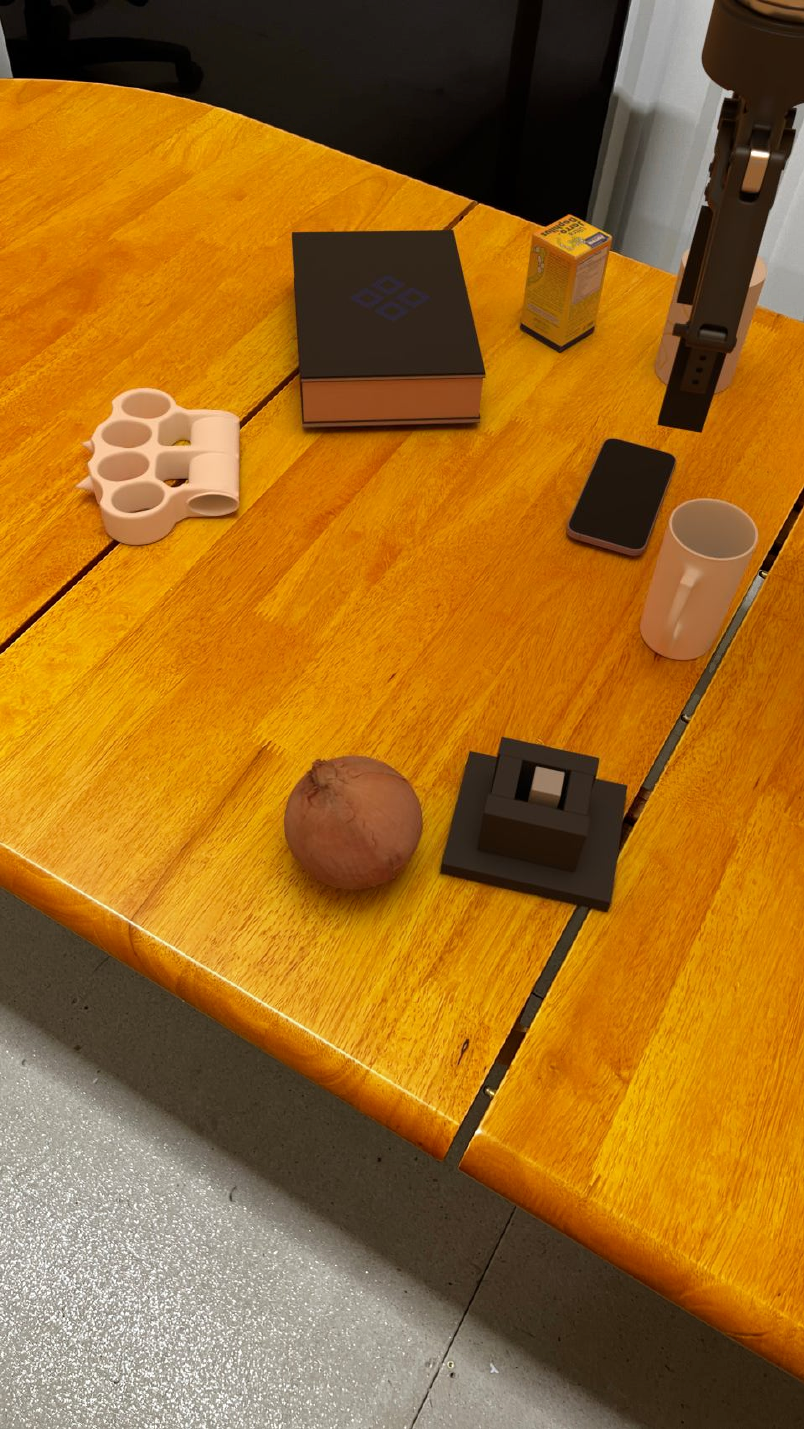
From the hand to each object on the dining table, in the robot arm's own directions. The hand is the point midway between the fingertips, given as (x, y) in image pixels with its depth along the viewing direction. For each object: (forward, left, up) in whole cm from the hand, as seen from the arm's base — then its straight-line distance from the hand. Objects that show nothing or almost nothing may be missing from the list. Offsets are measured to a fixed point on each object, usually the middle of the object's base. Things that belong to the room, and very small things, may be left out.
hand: (688, 361), depth 71 cm
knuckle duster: (+43, -8, -27) cm, 51 cm away
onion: (+15, +26, -27) cm, 40 cm away
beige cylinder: (-4, -39, -27) cm, 48 cm away
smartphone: (+1, -17, -27) cm, 32 cm away
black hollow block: (+3, +21, -25) cm, 33 cm away
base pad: (+3, +21, -27) cm, 34 cm away
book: (+28, -32, -27) cm, 50 cm away
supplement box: (+11, -42, -27) cm, 51 cm away
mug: (-5, 0, -27) cm, 27 cm away
